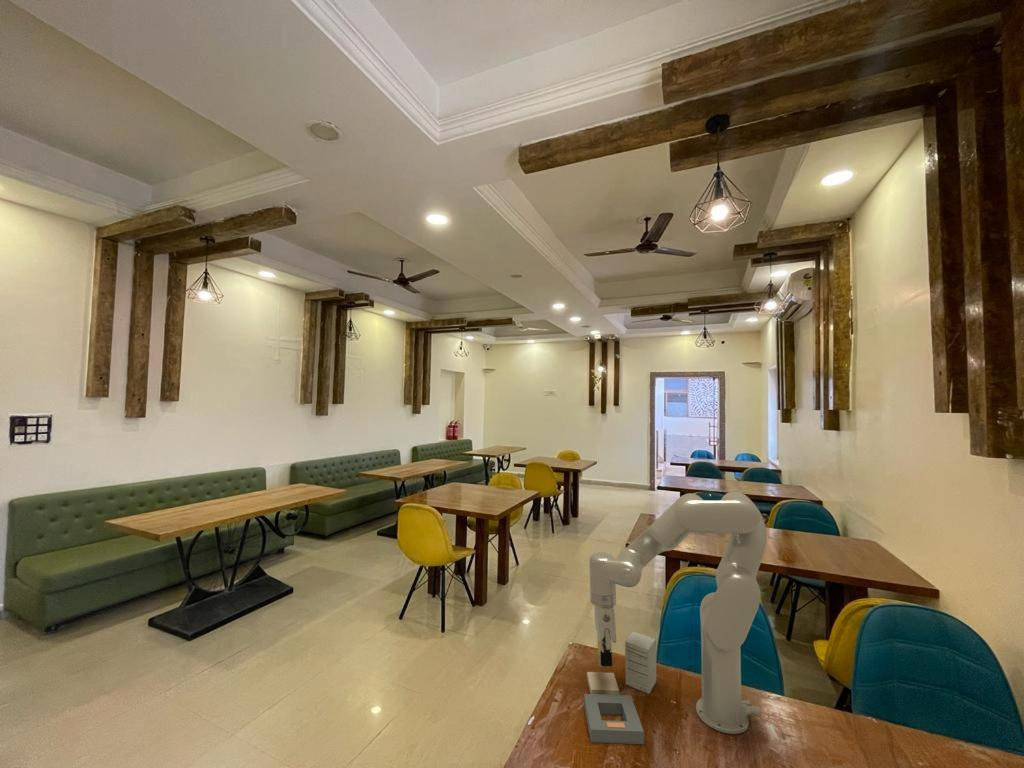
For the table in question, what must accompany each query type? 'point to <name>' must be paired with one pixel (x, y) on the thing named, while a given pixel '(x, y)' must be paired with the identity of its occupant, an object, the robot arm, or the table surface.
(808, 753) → the table surface
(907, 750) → the table surface
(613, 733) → the hole plate
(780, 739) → the table surface
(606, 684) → the beige square plate
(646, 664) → the supplement box
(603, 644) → the brass peg
